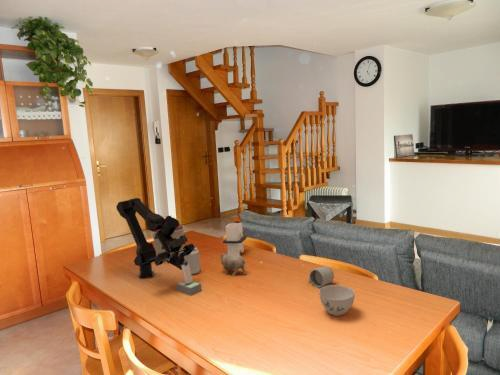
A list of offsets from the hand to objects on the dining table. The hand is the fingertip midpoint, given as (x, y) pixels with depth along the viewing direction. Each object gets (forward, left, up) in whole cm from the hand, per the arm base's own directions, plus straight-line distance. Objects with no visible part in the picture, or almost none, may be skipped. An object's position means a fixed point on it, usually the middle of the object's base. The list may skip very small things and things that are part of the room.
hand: (184, 270), depth 166 cm
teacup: (+37, +54, -9) cm, 66 cm away
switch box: (+2, +2, -9) cm, 9 cm away
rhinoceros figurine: (-15, +22, -9) cm, 28 cm away
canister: (-48, -7, -9) cm, 49 cm away
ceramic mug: (+12, +56, -9) cm, 58 cm away
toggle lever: (+2, +2, -5) cm, 6 cm away
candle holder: (-42, +28, -9) cm, 51 cm away
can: (-21, +4, -9) cm, 23 cm away
